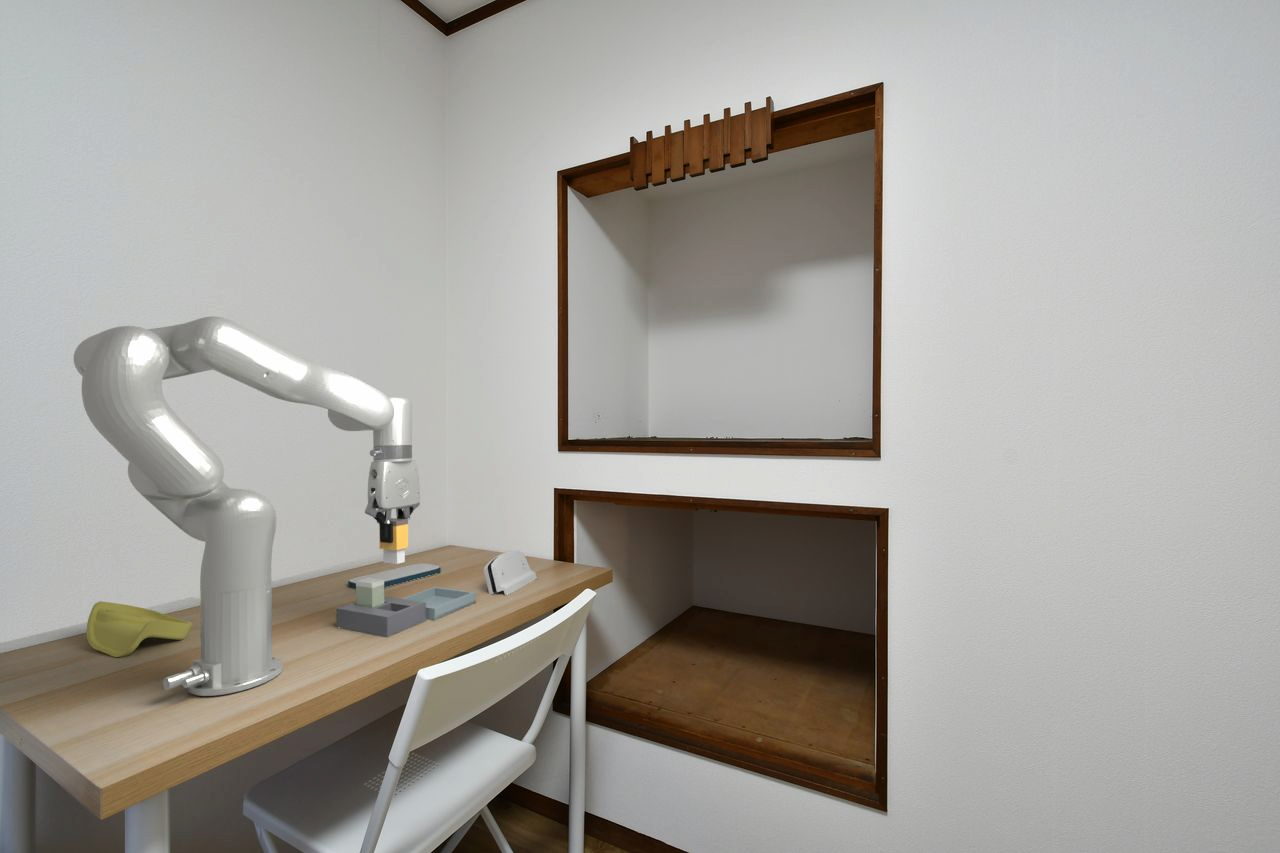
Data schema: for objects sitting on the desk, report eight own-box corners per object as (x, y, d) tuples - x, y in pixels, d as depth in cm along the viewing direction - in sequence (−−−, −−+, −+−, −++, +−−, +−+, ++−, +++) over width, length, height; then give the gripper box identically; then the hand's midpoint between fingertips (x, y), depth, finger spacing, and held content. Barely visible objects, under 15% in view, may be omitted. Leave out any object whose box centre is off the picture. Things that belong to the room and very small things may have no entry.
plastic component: (198, 625, 110) (145, 618, 101) (178, 663, 107) (122, 659, 98) (143, 607, 117) (89, 599, 109) (123, 642, 114) (66, 637, 106)
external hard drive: (365, 594, 139) (365, 586, 139) (343, 587, 145) (343, 580, 145) (445, 573, 158) (445, 567, 158) (422, 568, 165) (422, 562, 165)
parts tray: (434, 620, 117) (434, 608, 117) (391, 613, 122) (391, 601, 122) (475, 602, 128) (475, 592, 128) (434, 596, 134) (434, 586, 134)
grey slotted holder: (506, 595, 134) (493, 557, 135) (490, 601, 135) (478, 562, 136) (537, 578, 150) (526, 544, 151) (523, 583, 151) (512, 549, 152)
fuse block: (387, 637, 107) (387, 592, 107) (336, 627, 113) (336, 584, 113) (426, 620, 116) (425, 579, 116) (377, 612, 122) (376, 573, 123)
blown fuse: (396, 564, 111) (396, 521, 112) (379, 562, 113) (379, 520, 114) (408, 561, 114) (407, 519, 114) (391, 559, 116) (391, 518, 116)
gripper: (372, 456, 105) (373, 549, 105) (435, 452, 120) (436, 534, 120) (346, 456, 108) (347, 547, 108) (410, 452, 123) (411, 532, 123)
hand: (394, 539), depth 114 cm, fingers closed on blown fuse, 3 cm apart
